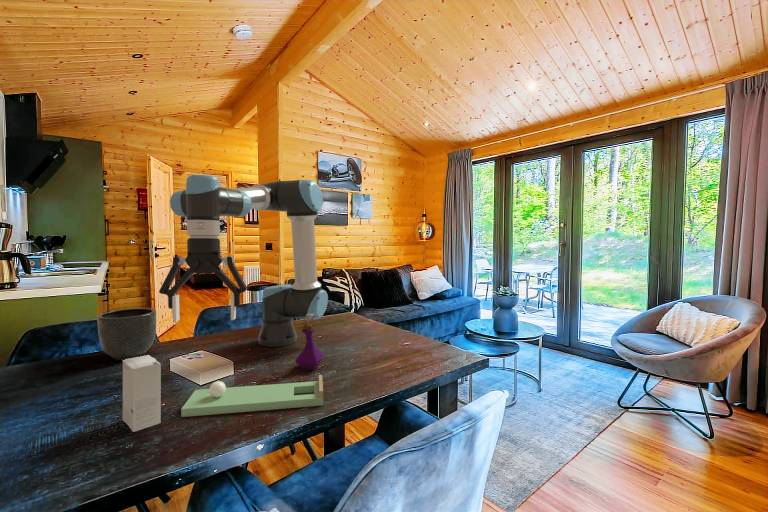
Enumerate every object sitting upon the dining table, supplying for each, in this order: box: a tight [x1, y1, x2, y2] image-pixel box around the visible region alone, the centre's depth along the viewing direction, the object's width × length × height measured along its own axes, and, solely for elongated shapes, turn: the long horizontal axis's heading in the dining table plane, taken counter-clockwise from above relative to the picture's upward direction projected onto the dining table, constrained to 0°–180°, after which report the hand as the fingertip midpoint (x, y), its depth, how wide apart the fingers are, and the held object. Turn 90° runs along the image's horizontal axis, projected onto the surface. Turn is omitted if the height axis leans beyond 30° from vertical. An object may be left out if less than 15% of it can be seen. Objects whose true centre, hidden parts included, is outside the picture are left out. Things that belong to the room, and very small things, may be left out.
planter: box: [96, 307, 158, 361], centre depth 131 cm, size 17×17×16 cm
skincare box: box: [121, 354, 162, 433], centre depth 86 cm, size 8×6×15 cm
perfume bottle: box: [295, 314, 325, 371], centre depth 121 cm, size 8×8×18 cm
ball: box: [208, 380, 227, 397], centre depth 95 cm, size 4×4×4 cm
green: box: [180, 374, 324, 418], centre depth 97 cm, size 11×34×4 cm, turn 101°
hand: (205, 320), depth 94 cm, fingers open, 13 cm apart
